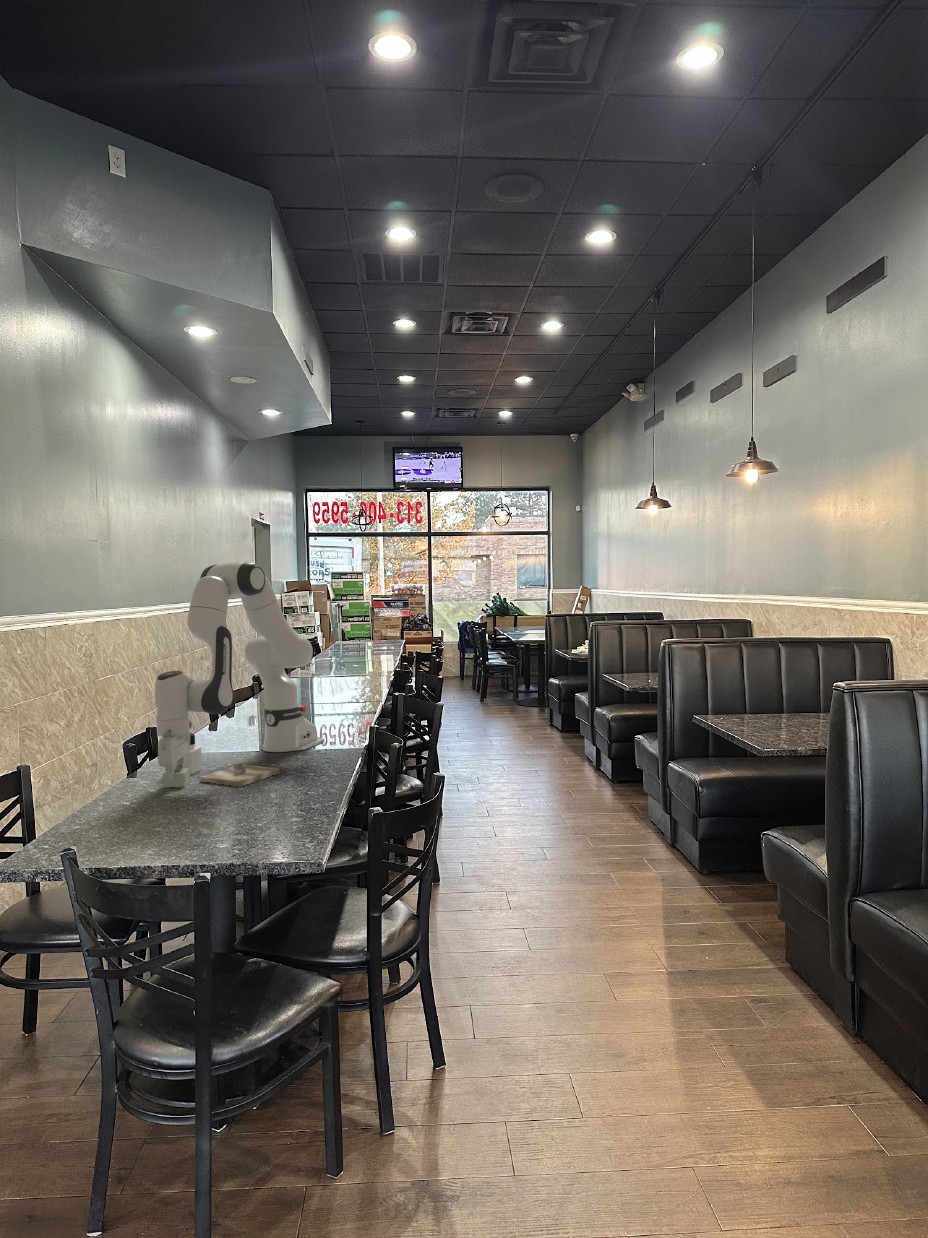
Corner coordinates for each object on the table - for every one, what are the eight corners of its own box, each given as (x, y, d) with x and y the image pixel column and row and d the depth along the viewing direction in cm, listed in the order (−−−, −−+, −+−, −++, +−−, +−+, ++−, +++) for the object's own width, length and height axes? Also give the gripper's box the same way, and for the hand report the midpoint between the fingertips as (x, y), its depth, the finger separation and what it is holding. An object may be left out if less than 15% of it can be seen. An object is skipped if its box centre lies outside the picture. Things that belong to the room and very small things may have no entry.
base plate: (240, 769, 246) (240, 754, 246) (279, 773, 238) (278, 758, 238) (200, 781, 232) (199, 766, 232) (239, 787, 224) (238, 771, 224)
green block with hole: (169, 782, 232) (168, 769, 232) (190, 781, 233) (189, 768, 233) (163, 788, 226) (162, 774, 226) (185, 786, 227) (184, 773, 227)
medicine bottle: (202, 769, 248) (200, 731, 248) (192, 775, 241) (190, 736, 240) (180, 769, 249) (178, 731, 248) (170, 775, 242) (167, 736, 241)
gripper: (174, 733, 219) (177, 783, 219) (193, 721, 239) (195, 766, 239) (150, 735, 218) (153, 784, 219) (171, 722, 238) (174, 767, 239)
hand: (175, 775), depth 229 cm, fingers open, 8 cm apart
